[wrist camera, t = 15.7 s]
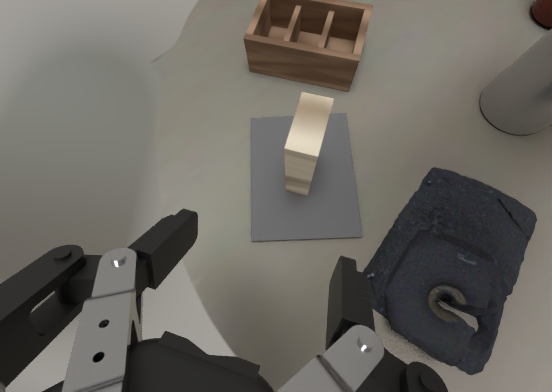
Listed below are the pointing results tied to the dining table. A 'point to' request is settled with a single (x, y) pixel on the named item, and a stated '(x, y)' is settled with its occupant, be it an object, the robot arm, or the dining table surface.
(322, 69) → the walnut box
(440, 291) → the dark slate chunk
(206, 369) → the robot arm
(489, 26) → the dining table surface
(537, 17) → the mug
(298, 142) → the ash block
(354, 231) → the rubber mat
